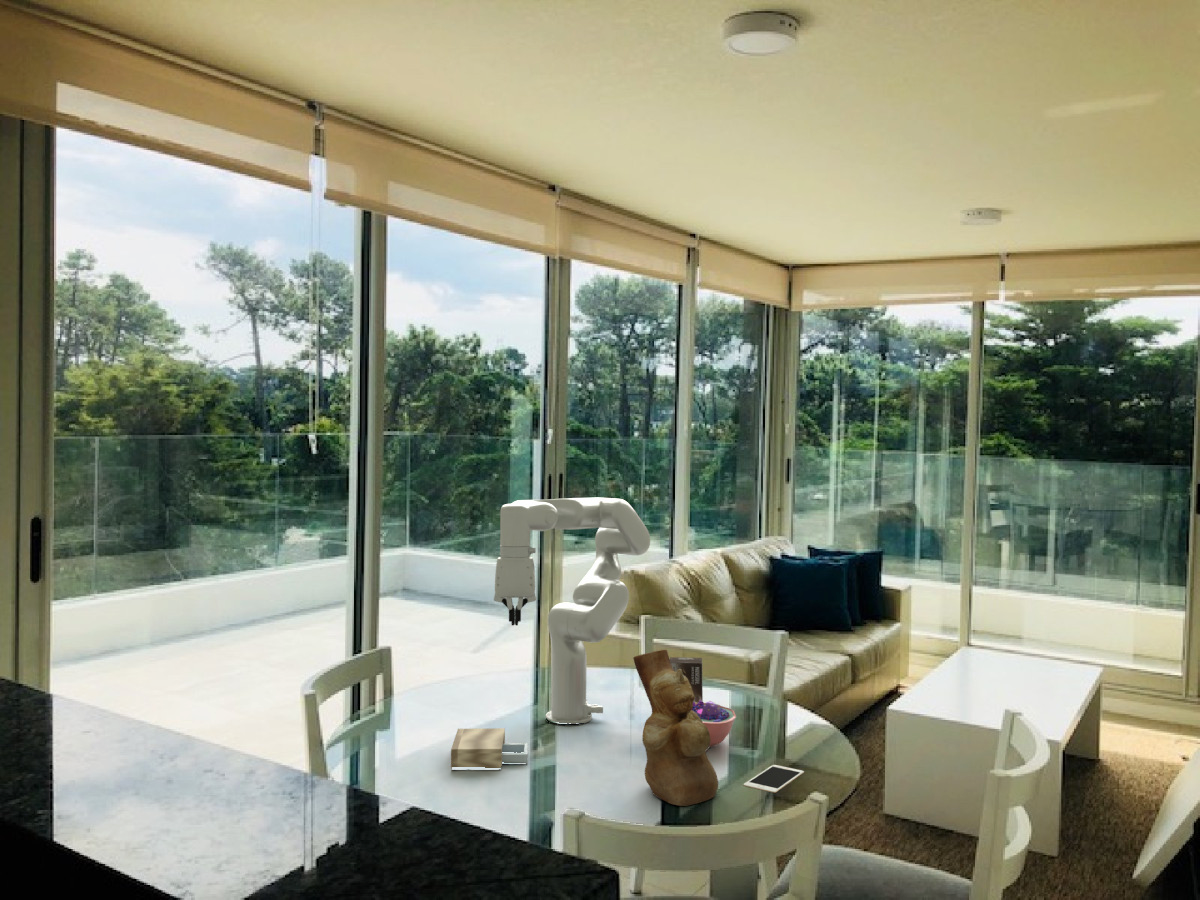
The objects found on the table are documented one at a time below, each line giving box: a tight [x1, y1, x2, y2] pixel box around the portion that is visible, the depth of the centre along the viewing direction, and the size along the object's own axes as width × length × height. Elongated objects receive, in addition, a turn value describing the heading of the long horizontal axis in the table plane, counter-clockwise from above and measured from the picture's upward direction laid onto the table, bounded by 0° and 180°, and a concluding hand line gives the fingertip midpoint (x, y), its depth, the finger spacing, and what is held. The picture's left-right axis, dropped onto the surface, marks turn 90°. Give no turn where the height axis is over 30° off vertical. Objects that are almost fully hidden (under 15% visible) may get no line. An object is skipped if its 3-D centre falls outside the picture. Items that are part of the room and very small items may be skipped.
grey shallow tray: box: [502, 742, 529, 764], centre depth 234 cm, size 14×8×2 cm, turn 93°
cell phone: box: [743, 764, 805, 794], centre depth 222 cm, size 8×16×1 cm, turn 145°
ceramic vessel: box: [632, 648, 719, 807], centre depth 214 cm, size 16×22×30 cm
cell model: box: [691, 700, 737, 748], centre depth 246 cm, size 17×20×11 cm
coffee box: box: [669, 656, 704, 703], centre depth 268 cm, size 9×6×16 cm
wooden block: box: [450, 727, 506, 768], centre depth 234 cm, size 12×16×5 cm
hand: (514, 624), depth 250 cm, fingers closed
